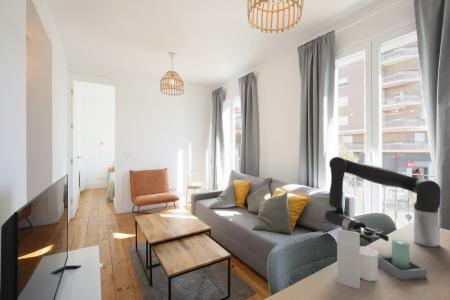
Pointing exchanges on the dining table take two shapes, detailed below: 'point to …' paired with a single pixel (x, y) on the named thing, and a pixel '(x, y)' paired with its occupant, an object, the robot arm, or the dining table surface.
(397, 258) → the mint green cylinder
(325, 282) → the dining table surface
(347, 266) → the milk carton
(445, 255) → the dining table surface
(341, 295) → the dining table surface
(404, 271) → the dish
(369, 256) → the white cup
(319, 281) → the dining table surface
